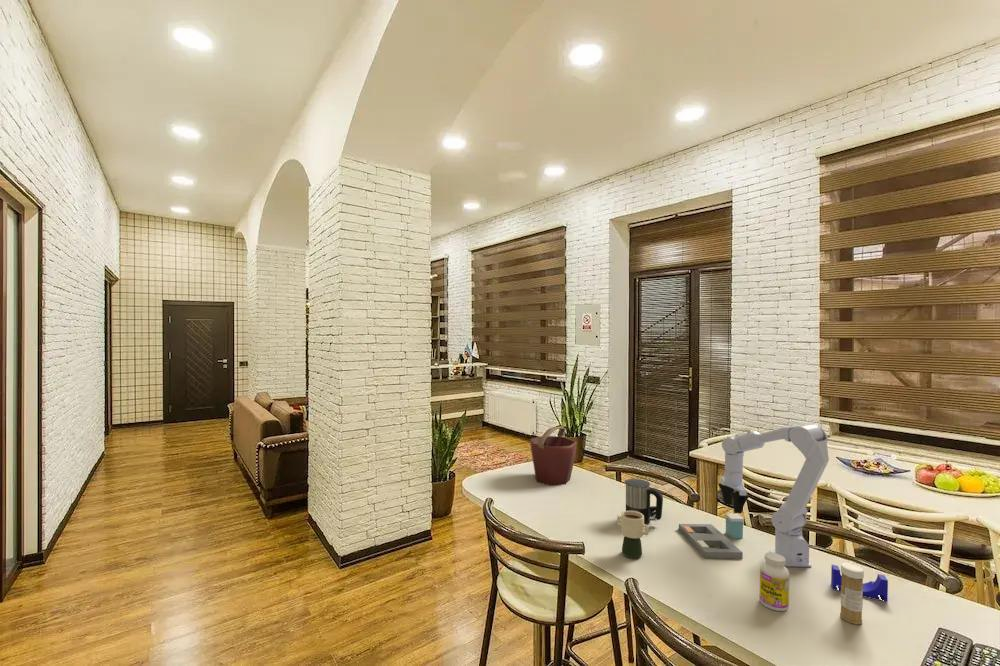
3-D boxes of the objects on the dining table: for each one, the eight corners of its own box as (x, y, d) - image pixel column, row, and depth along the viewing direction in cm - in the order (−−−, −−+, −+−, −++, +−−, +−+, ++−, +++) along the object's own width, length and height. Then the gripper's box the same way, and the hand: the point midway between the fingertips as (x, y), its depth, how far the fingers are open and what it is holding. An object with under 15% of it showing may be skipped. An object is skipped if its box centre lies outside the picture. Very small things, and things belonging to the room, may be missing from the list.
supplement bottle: (755, 603, 121) (756, 555, 121) (764, 594, 125) (765, 548, 125) (783, 615, 116) (784, 565, 116) (792, 606, 120) (793, 557, 120)
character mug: (653, 557, 145) (653, 516, 145) (642, 565, 140) (643, 523, 140) (622, 545, 153) (623, 507, 153) (611, 552, 148) (611, 512, 148)
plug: (744, 538, 160) (744, 518, 160) (730, 538, 160) (731, 518, 160) (737, 532, 164) (737, 513, 164) (724, 532, 164) (724, 513, 164)
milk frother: (624, 524, 170) (625, 484, 170) (623, 508, 185) (624, 472, 185) (664, 529, 166) (665, 488, 166) (660, 512, 182) (661, 475, 182)
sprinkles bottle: (841, 611, 118) (842, 560, 118) (863, 619, 115) (864, 566, 115) (838, 619, 115) (839, 566, 115) (861, 628, 112) (862, 573, 112)
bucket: (554, 469, 236) (554, 421, 236) (587, 480, 219) (588, 428, 219) (519, 478, 220) (520, 427, 220) (552, 491, 203) (553, 435, 203)
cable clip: (882, 594, 127) (883, 572, 127) (887, 602, 123) (887, 580, 123) (830, 582, 132) (830, 562, 132) (833, 590, 128) (833, 569, 128)
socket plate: (742, 558, 145) (742, 551, 145) (705, 558, 145) (705, 550, 145) (711, 529, 166) (711, 523, 166) (678, 529, 166) (678, 523, 166)
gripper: (713, 464, 169) (712, 500, 170) (732, 476, 155) (731, 516, 155) (732, 464, 169) (731, 501, 169) (753, 477, 155) (752, 517, 155)
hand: (732, 508), depth 162 cm, fingers open, 7 cm apart
